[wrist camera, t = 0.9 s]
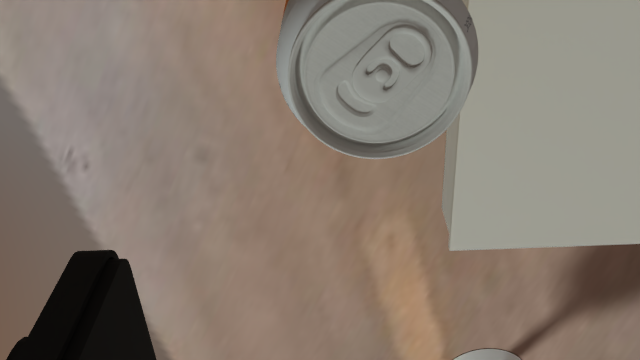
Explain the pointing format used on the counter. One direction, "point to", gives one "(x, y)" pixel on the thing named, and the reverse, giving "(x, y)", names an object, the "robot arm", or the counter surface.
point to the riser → (548, 128)
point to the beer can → (376, 71)
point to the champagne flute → (488, 355)
